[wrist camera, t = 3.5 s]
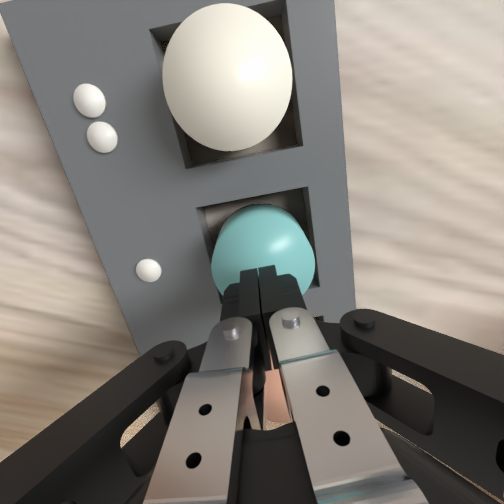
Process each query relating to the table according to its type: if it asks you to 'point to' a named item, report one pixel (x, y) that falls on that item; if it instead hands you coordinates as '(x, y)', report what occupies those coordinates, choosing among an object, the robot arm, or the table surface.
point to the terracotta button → (275, 397)
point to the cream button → (227, 77)
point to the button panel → (180, 153)
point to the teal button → (262, 246)
